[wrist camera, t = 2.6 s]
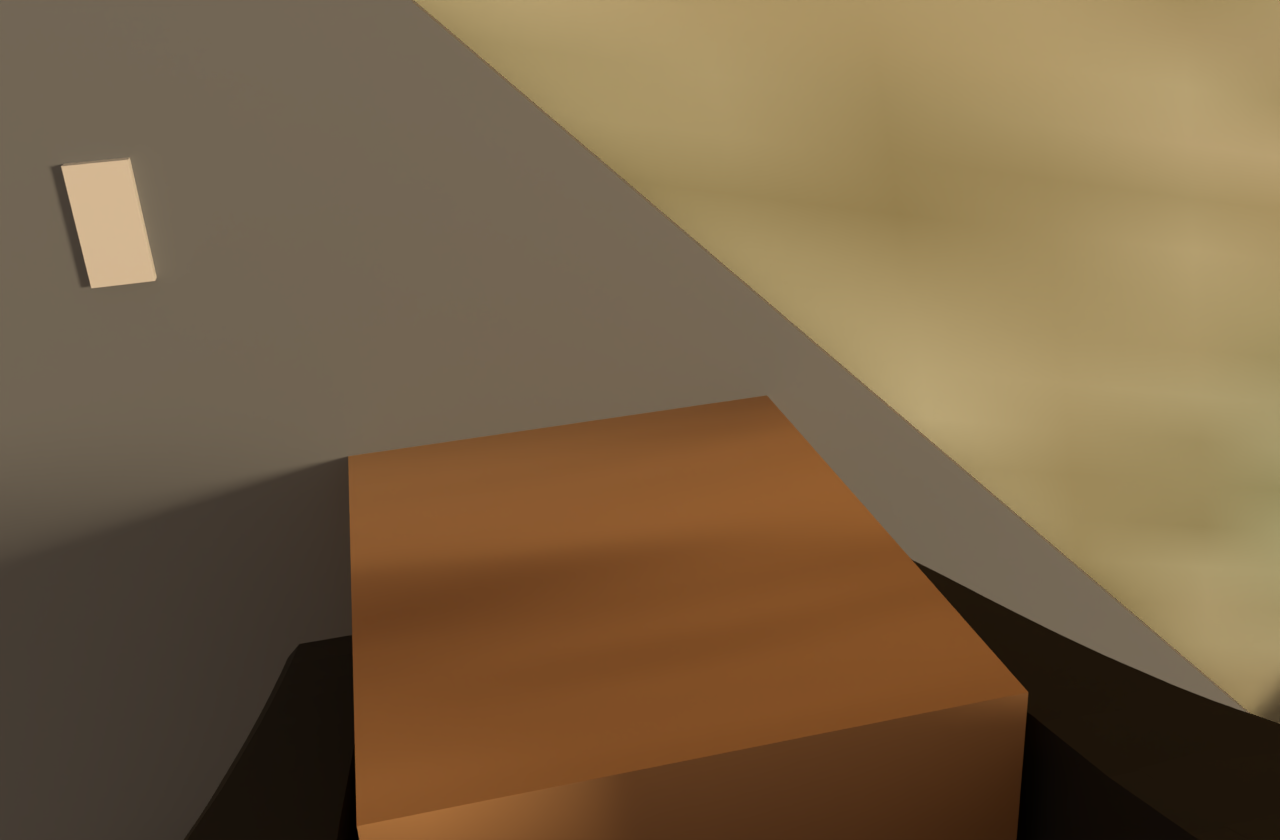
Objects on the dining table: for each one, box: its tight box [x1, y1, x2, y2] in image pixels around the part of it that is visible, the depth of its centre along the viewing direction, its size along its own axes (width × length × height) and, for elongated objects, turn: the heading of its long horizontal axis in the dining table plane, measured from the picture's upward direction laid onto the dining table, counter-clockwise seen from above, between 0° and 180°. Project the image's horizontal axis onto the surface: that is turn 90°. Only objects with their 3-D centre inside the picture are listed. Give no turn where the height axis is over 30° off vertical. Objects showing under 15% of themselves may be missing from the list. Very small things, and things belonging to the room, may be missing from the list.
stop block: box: [348, 395, 1028, 840], centre depth 10 cm, size 4×4×5 cm
